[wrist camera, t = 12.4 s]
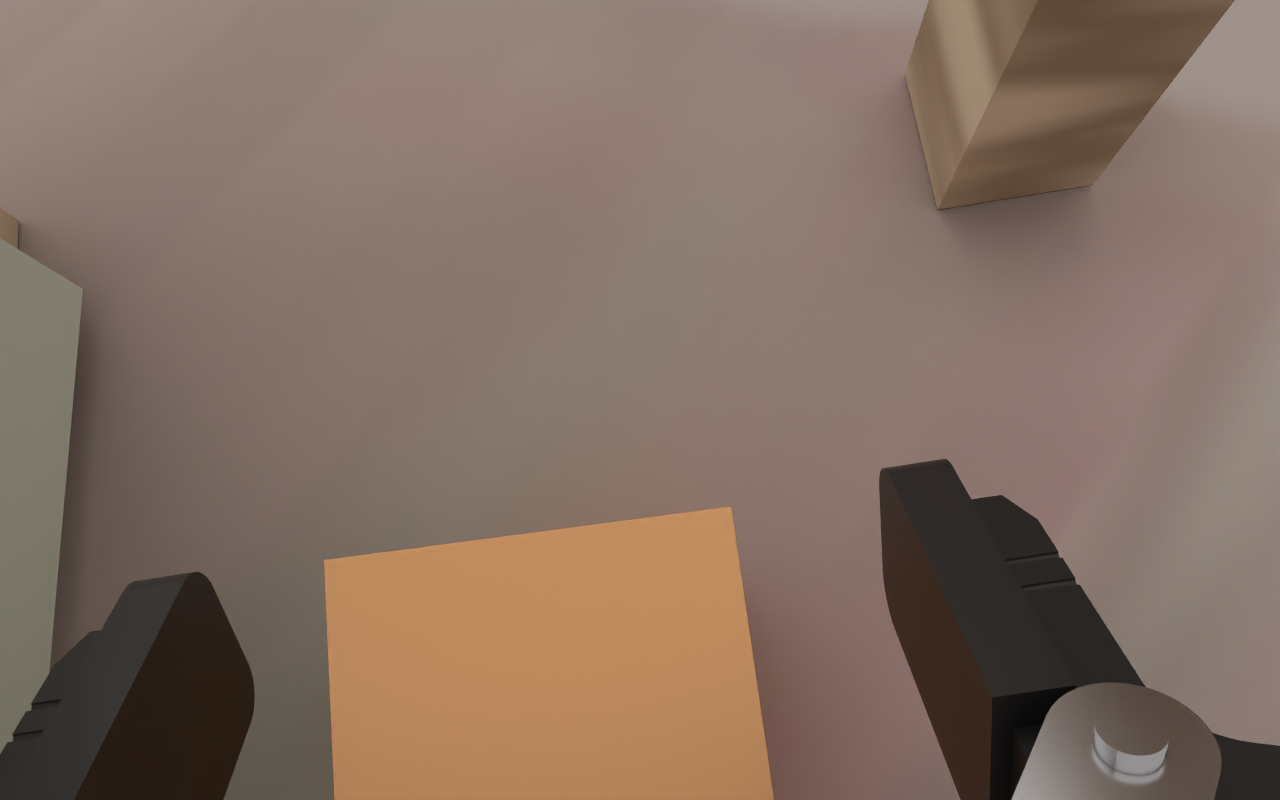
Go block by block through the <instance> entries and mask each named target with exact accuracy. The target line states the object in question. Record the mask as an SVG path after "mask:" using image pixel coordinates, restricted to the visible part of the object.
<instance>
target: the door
mask: <svg viewBox="0 0 1280 800" xmlns="http://www.w3.org/2000/svg"><path fill="white" fill-rule="evenodd" d="M82 295H83V289H82V288H81V287H79V286H77V285H76V284H74V283H72V282H71V281H69V280H68V279H66V278H64V277H63V276H61V275H59V274H58V273H56V272H54V271H53V270H51V269H50V268H48V267H46V266H45V265H43V264H41V263H40V262H38V261H37V260H35V259H33V258H32V257H30V256H28V255H27V254H25V253H23V252H22V251H20V250H19V249H17V248H15V247H14V246H12V245H10V244H9V243H7V242H6V241H4V240H2V239H1V238H0V754H1V752H2V750H3V749H4V747H5V745H6V744H7V742H12V741H13V735H12V734H13V732H14V731H15V729H16V727H17V726H18V724H19V722H20V721H21V719H22V717H23V716H24V714H25V712H26V711H31V708H32V706H31V703H32V701H33V699H34V698H35V696H36V694H37V693H38V691H39V689H40V688H41V686H42V684H43V683H44V681H45V679H46V678H47V676H48V675H49V670H50V658H51V647H52V636H53V624H54V613H55V602H56V590H57V579H58V568H59V556H60V545H61V533H62V522H63V511H64V499H65V488H66V477H67V465H68V454H69V442H70V431H71V420H72V408H73V397H74V386H75V374H76V363H77V352H78V340H79V329H80V317H81V306H82Z"/></svg>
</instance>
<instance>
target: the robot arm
mask: <svg viewBox="0 0 1280 800" xmlns="http://www.w3.org/2000/svg"><path fill="white" fill-rule="evenodd" d="M879 490H880V514H881V537H882V561H883V578H884V586H885V592H886V598H887V603H888V607H889V611H890V615H891V618H892V622H893V625H894V628H895V630H896V633H897V636H898V638H899V641H900V643H901V646H902V649H903V651H904V654H905V656H906V659H907V662H908V664H909V667H910V669H911V672H912V675H913V677H914V680H915V682H916V685H917V687H918V690H919V693H920V695H921V698H922V700H923V703H924V706H925V708H926V711H927V713H928V716H929V719H930V721H931V724H932V726H933V729H934V732H935V734H936V737H937V739H938V742H939V745H940V747H941V750H942V752H943V755H944V758H945V760H946V763H947V765H948V768H949V771H950V773H951V776H952V778H953V781H954V784H955V786H956V789H957V791H958V794H959V797H960V799H961V800H1280V746H1276V745H1267V744H1259V743H1252V742H1245V741H1239V740H1235V739H1231V738H1227V737H1224V736H1220V735H1217V734H1214V733H1212V732H1211V731H1210V729H1209V728H1208V726H1207V725H1206V724H1205V723H1204V722H1203V721H1202V720H1201V719H1200V717H1199V716H1197V715H1196V714H1195V713H1194V712H1193V711H1191V710H1190V709H1189V708H1188V707H1186V706H1185V705H1183V704H1181V703H1180V702H1178V701H1177V700H1175V699H1173V698H1171V697H1169V696H1167V695H1165V694H1163V693H1160V692H1158V691H1155V690H1152V689H1149V688H1146V687H1145V685H1144V684H1143V683H1142V681H1141V679H1140V678H1139V676H1138V675H1137V673H1136V672H1135V670H1134V669H1133V667H1132V666H1131V664H1130V662H1129V661H1128V659H1127V658H1126V656H1125V655H1124V653H1123V652H1122V650H1121V648H1120V647H1119V645H1118V644H1117V642H1116V641H1115V639H1114V638H1113V636H1112V634H1111V633H1110V631H1109V630H1108V628H1107V627H1106V625H1105V624H1104V622H1103V620H1102V619H1101V617H1100V616H1099V614H1098V613H1097V611H1096V610H1095V608H1094V606H1093V605H1092V603H1091V602H1090V600H1089V599H1088V597H1087V596H1086V594H1085V592H1084V591H1083V589H1082V588H1081V586H1080V585H1077V584H1076V581H1075V577H1074V575H1073V574H1072V572H1071V571H1070V569H1069V568H1068V566H1067V564H1066V563H1065V561H1064V560H1063V558H1059V555H1058V550H1057V549H1056V547H1055V546H1054V544H1053V543H1052V541H1051V540H1050V538H1049V536H1048V535H1047V533H1046V532H1045V530H1044V529H1043V527H1042V526H1041V524H1040V522H1039V521H1038V520H1037V519H1036V518H1034V517H1033V516H1032V515H1030V514H1029V513H1027V512H1026V511H1024V510H1023V509H1021V508H1020V507H1018V506H1017V505H1015V504H1014V503H1013V502H1011V501H1010V500H1008V499H1007V498H1005V497H1004V496H1002V495H998V496H992V497H985V498H979V499H972V500H971V498H970V496H969V495H968V493H967V491H966V489H965V487H964V486H963V484H962V482H961V480H960V479H959V477H958V475H957V473H956V472H955V470H954V468H953V466H952V465H951V463H950V462H949V461H948V460H946V459H942V460H935V461H929V462H922V463H916V464H909V465H903V466H896V467H890V468H883V469H882V470H881V472H880V478H879ZM31 706H32V708H31V711H26V712H25V714H24V716H23V717H22V719H21V721H20V722H19V724H18V726H17V727H16V729H15V731H14V732H13V734H12V735H13V741H12V742H7V744H6V745H5V747H4V749H3V750H2V752H1V754H0V800H223V799H224V796H225V793H226V790H227V788H228V785H229V782H230V779H231V776H232V774H233V771H234V768H235V765H236V762H237V759H238V757H239V754H240V751H241V748H242V745H243V743H244V740H245V737H246V734H247V731H248V729H249V726H250V723H251V719H252V716H253V710H254V684H253V678H252V673H251V670H250V667H249V664H248V662H247V660H246V658H245V656H244V653H243V651H242V649H241V647H240V645H239V642H238V640H237V638H236V636H235V634H234V632H233V629H232V627H231V625H230V623H229V621H228V619H227V616H226V614H225V612H224V610H223V608H222V605H221V603H220V601H219V599H218V597H217V595H216V592H215V590H214V588H213V586H212V584H211V582H210V581H209V580H208V578H207V577H206V576H205V575H203V574H202V573H199V572H194V573H187V574H180V575H174V576H167V577H161V578H154V579H148V580H141V581H135V582H132V583H131V584H129V585H128V586H127V587H126V589H125V590H124V591H123V593H122V595H121V597H120V598H119V600H118V602H117V603H116V605H115V607H114V609H113V610H112V612H111V614H110V616H109V617H108V619H107V621H106V623H105V624H104V626H103V628H102V630H99V631H92V632H90V633H88V634H87V635H86V636H85V637H84V638H83V639H82V640H81V641H80V642H79V643H78V644H77V645H76V646H75V647H74V648H73V649H71V650H70V651H69V652H68V653H67V654H66V655H65V656H64V657H63V658H62V659H61V660H60V661H59V662H58V663H57V664H56V665H54V666H53V668H52V670H51V671H50V673H49V675H48V676H47V678H46V679H45V681H44V683H43V684H42V686H41V688H40V689H39V691H38V693H37V694H36V696H35V698H34V699H33V701H32V703H31Z"/></svg>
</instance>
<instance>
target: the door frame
mask: <svg viewBox="0 0 1280 800" xmlns="http://www.w3.org/2000/svg"><path fill="white" fill-rule="evenodd" d="M1233 2H1234V0H929V1H928V4H927V8H926V11H925V14H924V17H923V20H922V23H921V26H920V30H919V33H918V36H917V39H916V42H915V45H914V48H913V52H912V55H911V58H910V61H909V64H908V67H907V70H906V73H905V76H906V80H907V85H908V89H909V93H910V97H911V101H912V105H913V110H914V114H915V118H916V122H917V126H918V131H919V135H920V139H921V143H922V147H923V152H924V156H925V160H926V164H927V168H928V173H929V177H930V181H931V185H932V189H933V194H934V198H935V202H936V206H937V210H939V209H945V208H951V207H958V206H964V205H970V204H976V203H982V202H989V201H995V200H1001V199H1007V198H1014V197H1020V196H1026V195H1032V194H1039V193H1045V192H1051V191H1057V190H1063V189H1070V188H1076V187H1082V186H1088V185H1092V184H1093V183H1094V182H1095V181H1096V179H1097V178H1098V177H1099V175H1100V174H1101V173H1102V171H1103V170H1104V169H1105V168H1106V166H1107V165H1108V164H1109V162H1110V161H1111V160H1112V158H1113V157H1114V156H1115V155H1116V153H1117V152H1118V151H1119V149H1120V148H1121V147H1122V146H1123V144H1124V143H1125V142H1126V140H1127V139H1128V138H1129V136H1130V135H1131V134H1132V133H1133V131H1134V130H1135V129H1136V127H1137V126H1138V125H1139V124H1140V122H1141V121H1142V120H1143V118H1144V117H1145V116H1146V114H1147V113H1148V112H1149V111H1150V109H1151V108H1152V107H1153V105H1154V104H1155V103H1156V101H1157V100H1158V99H1159V98H1160V96H1161V95H1162V94H1163V92H1164V91H1165V90H1166V89H1167V87H1168V86H1169V85H1170V83H1171V82H1172V81H1173V79H1174V78H1175V77H1176V76H1177V74H1178V73H1179V72H1180V70H1181V69H1182V68H1183V67H1184V65H1185V64H1186V63H1187V61H1188V60H1189V58H1190V57H1191V56H1192V55H1193V54H1194V52H1195V51H1196V50H1197V48H1198V47H1199V46H1200V45H1201V43H1202V42H1203V41H1204V39H1205V38H1206V37H1207V35H1208V34H1209V33H1210V32H1211V30H1212V29H1213V28H1214V26H1215V25H1216V24H1217V22H1218V21H1219V20H1220V18H1221V17H1222V16H1223V15H1224V13H1225V12H1226V11H1227V10H1228V8H1229V7H1230V6H1231V4H1232V3H1233ZM0 238H1V239H2V240H4V241H6V242H7V243H9V244H10V245H12V246H14V247H15V248H17V249H18V220H17V219H16V218H14V217H13V216H11V215H9V214H8V213H6V212H5V211H3V210H2V209H0Z"/></svg>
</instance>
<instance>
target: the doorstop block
mask: <svg viewBox="0 0 1280 800" xmlns="http://www.w3.org/2000/svg"><path fill="white" fill-rule="evenodd" d="M324 570H325V593H326V616H327V639H328V662H329V686H330V709H331V732H332V755H333V778H334V800H774V796H773V789H772V782H771V775H770V768H769V762H768V755H767V748H766V741H765V734H764V727H763V720H762V714H761V707H760V700H759V693H758V686H757V679H756V673H755V666H754V659H753V652H752V645H751V638H750V632H749V625H748V618H747V611H746V604H745V597H744V591H743V584H742V577H741V570H740V563H739V556H738V550H737V543H736V536H735V529H734V522H733V515H732V509H731V507H723V508H716V509H708V510H701V511H693V512H685V513H678V514H670V515H663V516H655V517H648V518H640V519H632V520H625V521H617V522H610V523H602V524H594V525H587V526H579V527H572V528H564V529H556V530H549V531H541V532H534V533H526V534H518V535H511V536H503V537H496V538H488V539H480V540H473V541H465V542H458V543H450V544H442V545H435V546H427V547H420V548H412V549H404V550H397V551H389V552H382V553H374V554H366V555H359V556H351V557H344V558H336V559H328V560H324Z"/></svg>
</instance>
